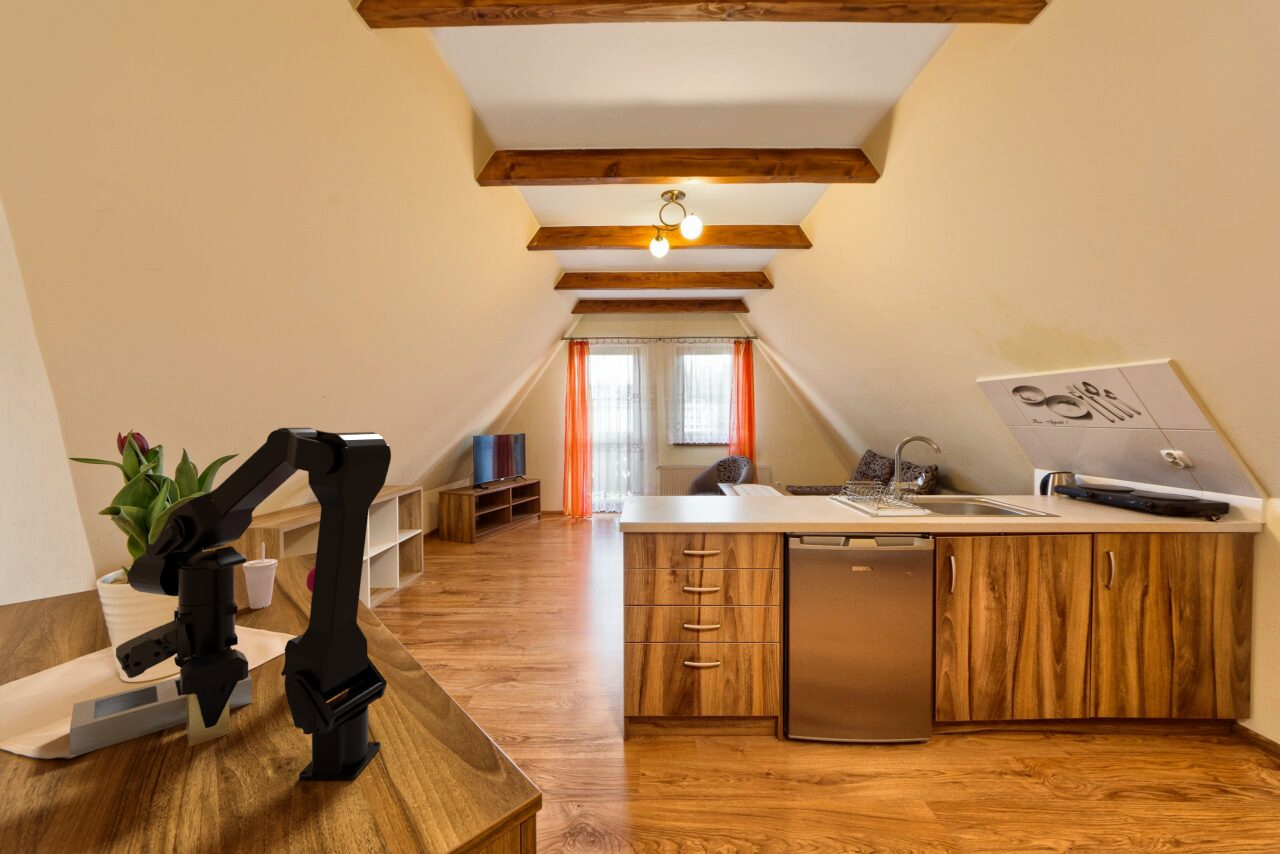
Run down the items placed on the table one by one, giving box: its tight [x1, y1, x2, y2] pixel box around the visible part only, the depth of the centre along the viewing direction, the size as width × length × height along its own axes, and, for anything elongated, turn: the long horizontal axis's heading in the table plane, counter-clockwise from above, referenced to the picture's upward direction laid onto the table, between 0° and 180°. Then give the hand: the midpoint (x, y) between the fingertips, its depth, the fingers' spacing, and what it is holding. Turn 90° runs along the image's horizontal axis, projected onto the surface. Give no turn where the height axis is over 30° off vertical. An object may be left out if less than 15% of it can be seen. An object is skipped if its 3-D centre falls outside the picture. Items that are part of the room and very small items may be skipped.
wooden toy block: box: [185, 694, 230, 747], centre depth 69 cm, size 4×4×7 cm
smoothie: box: [242, 541, 279, 610], centre depth 118 cm, size 6×6×14 cm
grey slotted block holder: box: [69, 671, 253, 757], centre depth 73 cm, size 18×8×7 cm, turn 135°
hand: (207, 717), depth 69 cm, fingers open, 5 cm apart
